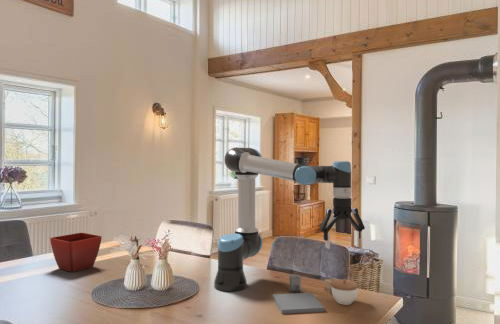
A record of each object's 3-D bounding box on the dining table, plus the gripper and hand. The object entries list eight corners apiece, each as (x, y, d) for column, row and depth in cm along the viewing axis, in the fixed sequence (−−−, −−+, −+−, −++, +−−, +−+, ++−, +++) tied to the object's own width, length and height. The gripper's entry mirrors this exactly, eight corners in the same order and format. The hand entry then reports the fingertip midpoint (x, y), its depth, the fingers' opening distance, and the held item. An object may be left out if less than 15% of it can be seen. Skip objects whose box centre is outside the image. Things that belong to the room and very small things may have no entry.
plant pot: (102, 266, 211) (102, 235, 211) (70, 275, 195) (70, 242, 194) (81, 261, 221) (81, 232, 221) (49, 269, 205) (49, 237, 205)
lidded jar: (353, 309, 152) (353, 285, 152) (327, 303, 157) (327, 280, 157) (360, 300, 161) (361, 278, 161) (336, 295, 167) (336, 274, 166)
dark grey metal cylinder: (291, 293, 169) (291, 277, 169) (288, 290, 174) (288, 274, 174) (302, 293, 169) (302, 277, 169) (299, 289, 174) (299, 274, 174)
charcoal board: (281, 313, 147) (281, 309, 147) (272, 297, 164) (272, 294, 164) (324, 311, 149) (324, 307, 149) (311, 296, 166) (311, 292, 166)
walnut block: (330, 294, 169) (330, 282, 169) (324, 290, 173) (324, 279, 173) (342, 292, 171) (342, 281, 171) (335, 289, 175) (335, 278, 175)
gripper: (318, 199, 157) (319, 250, 157) (373, 197, 163) (373, 247, 163) (311, 197, 164) (311, 246, 164) (363, 195, 170) (363, 243, 170)
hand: (342, 247), depth 164 cm, fingers open, 13 cm apart
